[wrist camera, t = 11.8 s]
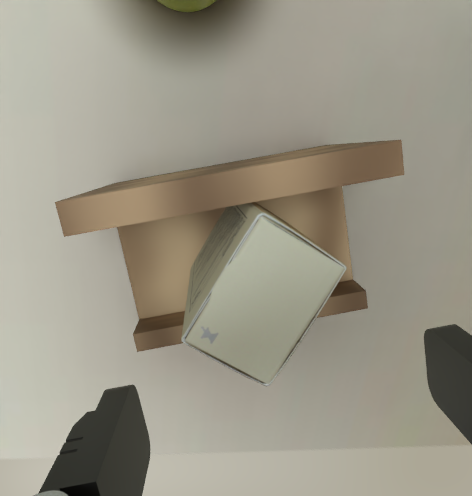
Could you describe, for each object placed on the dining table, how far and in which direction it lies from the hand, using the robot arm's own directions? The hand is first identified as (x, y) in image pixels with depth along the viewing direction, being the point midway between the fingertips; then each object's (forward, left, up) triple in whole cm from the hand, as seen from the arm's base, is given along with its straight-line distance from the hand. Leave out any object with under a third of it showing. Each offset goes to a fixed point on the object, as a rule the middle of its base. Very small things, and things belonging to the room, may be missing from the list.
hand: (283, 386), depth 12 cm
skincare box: (0, 0, -18) cm, 18 cm away
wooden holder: (0, 0, -20) cm, 20 cm away
